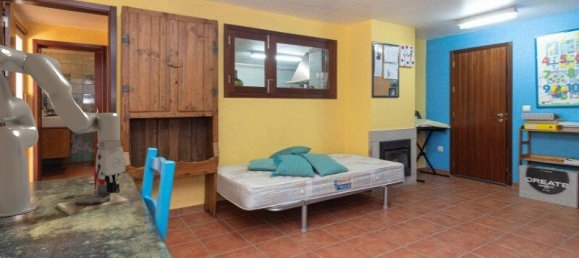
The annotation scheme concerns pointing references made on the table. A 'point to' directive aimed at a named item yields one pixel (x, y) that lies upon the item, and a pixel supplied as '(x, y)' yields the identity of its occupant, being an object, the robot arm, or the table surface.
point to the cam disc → (95, 196)
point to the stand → (75, 209)
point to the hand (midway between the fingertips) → (111, 191)
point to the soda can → (98, 180)
